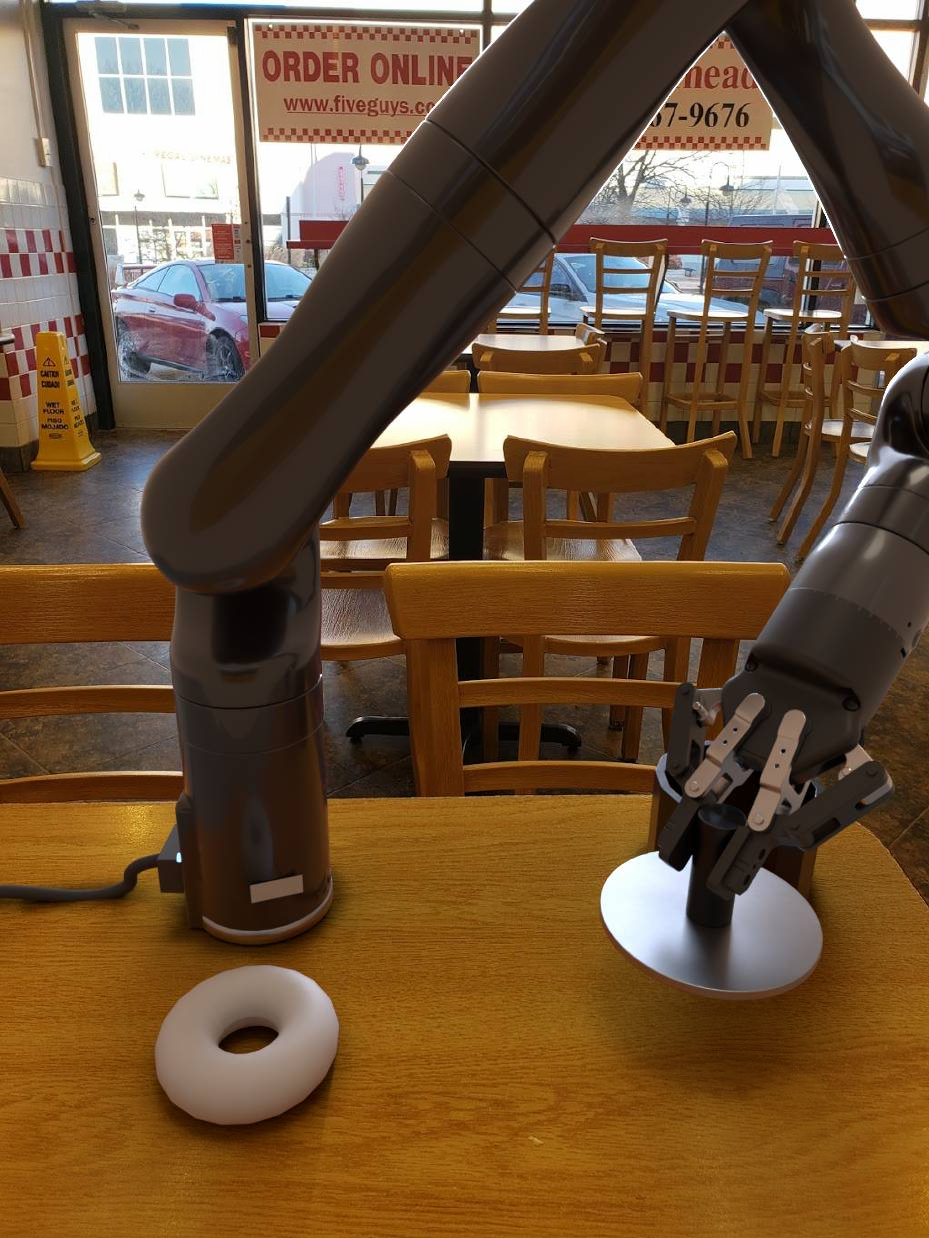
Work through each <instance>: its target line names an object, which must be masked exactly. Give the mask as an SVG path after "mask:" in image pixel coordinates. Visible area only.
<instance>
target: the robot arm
mask: <svg viewBox="0 0 929 1238" xmlns="http://www.w3.org/2000/svg"><path fill="white" fill-rule="evenodd" d="M723 32H724V33H725V34H726V36H727V37H728V39H729V41H731V44H732V46H733V47H734V48H735V50H736V51H737V53H738V56H739V57H740V58H741V60H742V61H743V63H744V65H745V66H746V68H747V70H748V72H749V73H750V75H751V76H752V78H753V80H754V82H755V83H756V85H757V86H758V88H759V90H760V91H761V93H762V95H763V97H764V98H765V100H766V101H767V103H768V105H769V107H770V108H771V110H772V112H773V114H774V115H775V118H776V119H777V121H778V123H779V125H780V126H781V128H782V130H783V131H784V133H785V135H786V137H787V140H788V141H789V143H790V145H791V146H792V148H793V150H794V152H795V155H796V156H797V158H798V160H799V162H800V164H801V166H802V168H803V170H804V172H805V174H806V175H807V178H808V181H809V182H810V184H811V187H812V188H813V191H814V193H815V195H816V197H817V199H818V201H819V203H820V205H821V208H822V210H823V213H824V214H825V216H826V219H827V221H828V223H829V225H830V229H831V230H832V232H833V235H834V237H835V239H836V241H837V244H838V246H839V248H840V250H841V253H842V255H843V258H844V260H845V263H846V264H847V266H848V269H849V271H850V273H851V276H852V278H853V280H854V282H855V285H856V288H857V289H858V291H859V294H860V295H861V298H862V301H863V303H864V305H865V307H866V309H867V311H868V313H869V315H870V317H871V318H872V320H873V323H874V324H875V325H876V326H877V328H879V329H880V330H881V331H882V332H883V333H886V334H887V335H890V336H894V337H899V338H908V339H916V340H923V341H927V342H929V105H928V104H927V103H926V101H925V100H924V99H923V97H921V96H920V94H919V93H918V92H917V91H916V89H914V87H913V86H912V84H911V83H910V82H909V81H908V80H907V78H906V77H905V76H904V74H902V73H901V71H900V70H899V69H898V68H897V66H896V65H895V64H894V63H893V61H892V60H891V59H890V58H889V56H888V54H887V53H886V52H885V51H884V49H883V47H882V46H881V45H880V44H879V42H878V40H877V39H876V37H875V36H874V34H873V33H872V31H871V29H870V28H869V26H868V25H867V23H866V21H865V20H864V18H863V16H862V15H861V12H860V11H859V9H858V7H857V5H856V3H855V0H531V1H530V2H529V3H528V4H527V5H526V6H525V7H524V8H523V9H522V10H521V11H520V12H519V13H518V14H517V15H516V16H515V18H513V19H512V20H511V21H510V22H509V23H508V24H507V25H506V27H505V28H504V29H503V30H502V31H501V32H500V33H499V34H498V35H497V36H496V38H494V39H493V40H492V42H491V43H489V45H488V46H487V47H485V49H484V50H483V51H482V52H481V53H480V54H479V55H478V56H477V58H476V59H475V60H474V61H473V62H472V63H471V64H470V66H469V67H468V68H467V69H466V70H465V71H464V72H463V74H461V75H460V77H459V78H458V79H457V80H456V81H455V82H454V84H453V85H452V86H450V89H448V91H446V93H445V94H444V95H443V96H442V98H441V99H440V100H439V101H438V102H437V103H436V104H435V106H433V108H432V109H431V110H430V111H429V113H427V115H426V116H425V120H422V122H421V123H420V124H419V126H418V127H417V128H416V129H415V131H414V132H413V133H412V134H411V136H410V137H409V138H408V140H407V141H406V142H405V144H404V145H403V146H402V148H401V149H400V150H399V151H398V153H397V154H396V155H395V156H394V158H393V159H392V160H391V162H389V164H388V166H387V167H386V169H385V170H384V171H383V172H382V174H381V175H380V176H379V178H378V179H377V180H376V181H375V183H374V184H373V186H372V187H371V189H370V191H369V192H368V193H367V195H366V196H365V198H364V199H363V200H362V202H361V203H360V205H359V207H358V208H357V209H356V211H355V212H354V214H353V215H352V216H351V218H350V219H349V221H348V223H347V224H346V225H345V226H344V228H343V230H342V232H341V233H340V234H339V236H338V238H337V239H336V241H335V242H334V244H333V245H332V247H331V248H330V249H329V252H328V253H327V255H326V256H325V258H324V260H323V261H322V262H321V265H320V266H319V268H318V269H317V270H316V273H315V274H314V276H313V277H312V280H311V281H310V283H309V284H308V286H307V288H306V289H305V291H304V292H303V294H302V296H301V298H300V300H298V301H299V302H298V303H297V304H296V307H295V308H294V310H293V312H292V313H291V315H290V316H289V318H288V319H287V321H286V322H285V323H284V326H283V327H282V329H281V330H280V331H279V333H278V334H277V336H276V337H275V338H274V339H273V342H271V344H269V346H268V347H267V349H266V350H265V351H264V352H263V353H262V355H261V356H260V357H259V358H258V360H257V361H255V363H254V364H253V365H252V367H251V368H250V369H249V370H248V371H247V372H245V374H244V375H243V376H242V377H241V378H240V379H239V381H238V382H236V384H235V385H234V386H233V387H232V388H231V389H230V390H229V391H228V392H227V393H226V394H225V395H224V397H222V399H221V400H220V401H219V402H218V403H217V404H216V405H215V406H214V407H213V408H212V409H211V410H210V411H209V412H208V413H207V414H206V415H205V416H204V417H202V419H201V421H199V422H198V423H197V424H196V425H195V426H194V427H193V428H192V429H191V430H190V431H189V432H187V433H185V435H183V436H182V437H181V438H180V439H179V440H177V442H175V443H174V444H173V445H172V446H171V447H169V448H168V449H167V450H166V451H165V452H164V453H163V455H161V456H160V457H159V459H158V460H157V461H156V463H155V464H154V465H153V467H152V469H151V471H150V472H149V473H148V476H147V479H146V481H145V485H144V487H143V490H142V496H141V502H140V507H139V511H140V512H139V520H140V522H139V523H140V530H141V537H142V540H143V545H144V546H145V549H146V552H147V554H148V556H149V558H150V560H151V561H152V563H153V565H154V566H155V567H156V569H157V570H158V572H159V573H160V574H161V575H162V576H163V577H164V578H165V579H166V580H168V581H169V582H170V583H171V584H173V585H174V587H175V596H174V597H175V598H174V599H175V601H174V615H173V623H172V629H171V635H170V640H169V641H170V643H169V650H168V651H169V665H170V674H171V685H172V693H173V694H172V695H173V701H174V710H175V719H176V720H175V721H176V728H177V729H176V730H177V738H178V739H177V740H178V746H179V755H180V756H179V757H180V764H181V773H182V775H181V776H182V785H183V789H182V791H181V793H180V795H179V797H178V799H177V801H176V803H175V806H174V807H175V808H174V811H175V812H174V814H175V822H176V823H175V824H174V825H173V827H172V829H171V831H170V833H169V835H168V836H167V839H166V840H165V842H164V844H163V846H162V848H161V850H160V852H158V853H154V854H153V853H152V854H150V855H145V856H142V857H139V858H137V859H135V860H133V861H131V863H129V864H128V865H126V866H127V867H125V869H124V871H123V880H121V881H120V882H118V883H115V884H113V885H110V886H105V887H101V888H95V889H66V888H65V889H64V888H55V887H54V888H53V887H45V886H43V887H42V886H34V885H33V886H32V885H16V884H0V899H4V900H6V899H7V900H24V901H25V900H27V901H38V902H49V903H68V902H82V901H83V902H84V901H96V900H97V901H98V900H107V899H108V900H110V899H116V898H120V897H123V896H125V895H127V894H129V893H131V892H132V891H133V890H134V889H136V887H137V884H138V879H139V878H138V875H140V874H141V873H142V872H145V871H148V870H153V869H156V868H157V874H158V881H159V882H158V884H159V891H160V893H161V894H184V900H185V909H186V918H187V926H188V927H189V928H190V929H203V930H205V931H206V932H207V933H208V934H210V935H212V936H213V937H215V938H217V939H220V940H222V941H225V942H228V943H232V944H237V945H249V946H251V945H267V944H273V943H277V942H281V941H285V940H288V939H291V938H294V937H296V936H299V935H300V934H303V933H304V932H306V931H308V930H310V929H311V928H313V927H314V926H315V925H316V924H318V922H320V921H321V920H322V919H323V918H324V917H325V915H326V914H327V912H328V911H329V910H330V907H331V905H332V902H333V898H334V885H333V876H332V865H331V852H330V851H331V850H330V849H331V848H330V846H331V845H330V827H329V825H330V824H329V805H328V783H327V764H326V763H327V762H326V743H325V742H326V739H325V738H326V737H325V721H324V701H323V675H322V629H323V628H322V625H323V594H322V593H323V592H322V566H321V565H322V564H321V533H320V529H321V528H320V522H321V520H322V518H323V517H324V515H325V513H326V512H327V511H328V509H329V507H331V504H332V503H333V501H334V500H335V498H336V497H337V496H338V494H339V493H340V491H341V490H342V488H343V487H344V486H345V484H346V483H347V481H348V480H349V478H350V477H351V476H352V474H353V473H354V471H355V470H356V469H357V467H358V466H359V464H360V463H361V461H362V460H363V459H364V457H365V456H366V455H367V453H368V452H369V451H370V450H371V448H372V447H373V445H374V444H375V443H376V442H377V441H378V439H379V438H380V437H381V436H382V435H383V433H384V432H385V431H386V430H387V429H388V427H390V425H391V424H392V423H393V422H394V421H395V420H396V419H397V418H398V417H399V416H400V415H401V414H402V412H404V411H405V410H406V409H407V408H408V407H409V406H410V405H411V404H412V403H413V402H414V401H415V400H416V399H417V398H418V397H419V396H421V394H422V393H423V392H425V391H426V390H427V388H429V387H430V386H432V384H433V383H434V382H435V381H436V380H437V379H438V378H439V377H440V376H442V374H443V373H444V372H445V371H446V370H447V369H448V368H450V366H451V365H452V364H453V363H454V362H455V361H456V360H457V359H458V358H459V357H460V356H461V354H463V352H464V351H466V350H467V349H468V347H469V346H470V345H471V344H472V343H473V342H474V341H475V340H476V339H477V338H478V337H479V336H480V335H481V334H482V332H483V331H484V330H485V329H486V328H487V327H488V326H489V325H490V323H492V322H493V321H494V319H495V318H496V317H497V316H498V315H499V314H500V313H501V312H502V311H503V310H504V309H505V308H506V307H507V306H508V304H509V303H510V302H511V301H512V300H513V299H514V298H515V297H516V296H517V293H519V292H520V291H521V290H522V289H523V287H525V285H526V283H527V282H528V281H529V280H530V279H531V278H532V277H533V276H534V274H535V273H536V272H537V271H538V270H539V268H540V267H541V266H542V265H543V264H544V262H546V260H547V259H548V258H549V257H550V255H551V254H552V253H553V252H554V251H555V248H556V247H558V246H559V245H560V243H561V242H562V241H563V240H564V238H565V237H566V236H567V235H568V233H570V231H571V229H572V228H574V227H573V226H574V225H575V224H576V223H577V222H578V220H579V219H580V217H581V216H582V215H583V214H584V212H585V211H586V210H587V208H588V207H590V205H591V203H592V202H593V201H594V200H595V199H596V197H598V194H599V193H601V191H602V190H603V188H604V187H605V185H606V184H607V183H608V181H609V180H610V179H611V178H612V176H613V175H614V173H615V172H616V171H617V170H618V168H619V167H620V166H621V164H622V163H623V162H624V161H625V159H626V158H627V156H628V155H629V154H630V152H631V151H632V149H634V147H635V145H636V144H637V142H639V139H640V138H641V137H642V135H643V134H644V133H645V131H646V130H647V128H648V127H649V125H650V124H651V123H652V121H653V120H654V119H655V117H656V115H658V113H659V111H660V110H661V108H662V107H663V106H664V104H665V103H666V101H667V100H668V98H669V96H671V94H672V93H673V92H674V90H675V89H676V88H677V86H678V85H679V84H680V82H681V81H682V80H683V79H684V77H685V76H686V74H687V73H688V72H689V71H690V69H691V68H692V67H693V66H694V65H695V64H696V62H697V61H698V60H699V59H700V58H701V57H702V55H703V54H704V53H705V52H706V51H707V50H708V49H709V48H710V46H712V45H713V43H714V42H715V41H716V40H717V39H718V38H719V37H720V36H721V34H722V33H723ZM860 477H861V478H860V481H859V483H858V484H857V486H856V487H855V488H854V489H853V491H852V492H851V494H850V496H849V497H848V499H847V500H846V502H845V503H844V506H843V507H842V509H841V511H839V513H838V516H837V517H836V519H835V520H834V522H833V523H832V525H831V527H830V528H829V530H828V531H827V533H826V534H825V536H824V537H823V538H822V539H821V541H820V542H819V543H818V544H817V545H816V547H815V548H813V550H812V551H811V553H810V554H809V555H808V556H807V558H806V560H805V561H804V562H803V564H802V566H801V567H800V569H799V571H798V572H797V574H796V575H795V577H794V578H793V580H792V582H791V583H790V585H789V587H788V588H787V590H786V591H785V592H784V595H783V596H782V598H781V599H780V601H779V603H778V604H777V606H776V608H775V609H774V611H773V612H772V614H771V616H770V617H769V618H768V621H767V622H766V624H765V625H764V627H763V629H762V630H761V632H760V634H759V635H758V637H757V638H756V640H755V642H754V644H753V645H752V647H751V648H750V651H749V653H748V656H747V659H746V662H745V664H744V666H743V668H742V669H741V670H740V671H739V672H738V673H737V674H735V675H734V676H731V678H729V679H728V680H726V682H725V683H724V684H723V685H722V687H718V688H700V689H699V688H697V687H696V686H695V685H694V684H693V683H692V682H690V681H684V682H681V683H680V684H679V685H678V686H677V687H676V689H675V693H674V701H673V709H672V716H671V723H670V730H669V738H668V745H667V751H666V753H667V759H666V770H667V771H668V772H669V773H670V774H671V775H672V777H673V778H674V779H675V780H676V781H677V783H678V784H679V785H680V786H681V788H682V791H683V795H682V799H681V801H680V802H679V804H678V806H677V807H676V809H675V810H674V812H673V814H672V815H671V817H670V819H669V821H668V822H667V824H666V825H665V827H664V828H663V830H662V832H661V833H660V835H659V839H658V844H657V845H659V846H660V847H661V848H660V850H659V854H658V856H659V858H660V859H661V860H662V861H663V862H664V863H665V864H667V865H668V866H669V867H671V868H673V869H674V870H676V871H678V872H680V871H682V870H683V869H684V868H685V866H686V864H687V863H688V861H689V860H690V858H691V856H692V854H693V846H694V839H695V831H696V823H697V815H698V810H699V809H700V808H701V807H702V806H704V805H706V804H711V803H721V804H722V803H723V801H724V800H725V799H726V798H727V796H728V795H729V794H730V793H731V791H732V790H733V789H734V788H735V787H736V786H740V785H742V784H743V783H744V782H745V781H746V780H747V778H748V777H749V776H750V775H751V773H752V772H753V771H754V770H756V771H761V772H763V773H762V775H761V778H760V790H759V793H758V795H757V797H756V800H755V802H754V805H753V807H752V809H751V812H750V814H749V816H748V824H747V826H746V828H744V827H742V826H740V825H739V826H738V828H737V830H736V831H735V833H734V835H733V836H732V838H731V840H730V841H729V843H728V845H727V846H726V848H725V850H724V852H723V853H722V855H721V857H720V858H719V860H718V862H717V863H716V865H715V867H714V868H713V870H712V872H711V873H710V875H709V877H708V879H707V882H706V886H707V888H709V889H710V890H711V891H712V892H713V893H714V894H716V895H717V896H719V897H721V898H722V899H724V900H726V901H728V900H730V899H731V898H732V897H733V895H734V893H736V894H737V895H739V896H740V895H742V894H743V893H744V892H746V891H747V890H748V888H749V887H750V885H751V883H752V882H753V880H754V878H755V877H756V874H757V873H758V871H759V870H760V868H761V866H762V865H763V863H764V861H765V859H766V858H767V856H768V854H769V853H770V851H771V850H772V849H773V848H775V847H776V846H779V845H787V846H794V847H798V848H799V849H801V850H802V851H805V852H809V851H813V850H814V849H816V848H817V847H818V848H819V847H821V846H822V845H823V844H825V843H826V842H828V841H830V840H831V839H832V838H834V837H835V836H836V835H838V834H840V833H841V832H842V831H844V830H846V829H847V828H848V827H850V826H852V825H853V824H854V823H856V822H857V821H858V820H860V819H862V818H863V817H864V816H866V815H867V814H869V813H871V812H872V811H874V810H875V809H876V808H878V807H879V806H881V805H882V804H884V803H885V802H886V801H888V800H890V799H891V798H892V797H893V796H894V794H895V792H896V786H895V784H894V782H893V780H892V777H891V776H890V774H889V772H888V770H887V769H886V768H885V766H884V765H883V764H882V763H881V762H879V761H877V760H874V759H873V758H872V757H871V756H870V754H868V753H867V751H866V750H865V746H866V729H867V726H868V724H869V722H870V721H871V720H872V718H873V717H874V716H875V715H876V713H877V711H878V710H879V708H880V706H881V704H882V702H883V701H884V699H885V698H886V695H887V694H888V692H889V691H890V688H891V687H892V686H893V684H894V682H895V680H896V678H897V677H898V675H899V673H900V672H901V670H902V668H903V667H904V665H905V663H906V661H907V660H908V658H909V656H910V654H911V652H913V650H914V649H916V648H917V646H918V645H919V643H920V641H921V640H922V637H923V633H924V630H925V629H926V627H927V625H928V624H929V350H928V351H925V352H922V353H921V354H919V355H917V356H916V357H914V358H913V359H912V360H910V361H909V362H908V363H907V364H905V365H904V367H902V368H901V369H900V370H899V371H898V372H897V374H896V375H895V376H894V377H893V378H892V379H891V380H890V382H889V384H888V386H887V387H886V389H885V391H884V393H883V396H882V399H881V401H880V405H879V409H878V412H877V416H876V420H875V424H874V428H873V432H872V436H871V440H870V442H869V446H868V450H867V453H866V458H865V462H864V467H863V471H862V474H861V476H860ZM720 712H721V714H722V715H721V716H722V726H723V727H722V728H723V729H722V730H721V731H720V733H719V734H718V735H717V736H716V737H715V739H714V740H712V741H713V743H712V744H711V745H710V746H709V748H708V749H707V751H706V754H705V756H706V757H705V760H704V761H703V754H704V746H705V741H706V738H707V737H706V736H707V728H708V727H712V726H713V725H714V724H715V721H716V717H717V715H718V713H720ZM733 757H734V758H733ZM843 765H844V766H843ZM841 766H843V767H842V768H841V769H840V770H839V772H838V775H837V779H838V781H836V782H834V783H833V784H831V785H830V786H829V787H827V788H825V789H826V790H825V791H823V792H822V793H820V794H819V795H818V796H816V797H815V798H813V799H812V800H810V801H809V802H807V803H806V804H804V805H803V806H802V807H800V806H801V804H802V801H803V799H804V796H805V794H806V791H807V789H808V786H809V784H810V781H811V779H813V778H815V777H818V778H819V777H820V776H822V775H824V774H826V773H828V772H830V771H833V770H834V769H836V768H839V767H841Z"/></svg>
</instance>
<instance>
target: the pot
mask: <svg viewBox="0 0 929 1238" xmlns="http://www.w3.org/2000/svg"><path fill="white" fill-rule="evenodd" d="M713 741H714V740H705V746H704V754H703V761H704V760H705V757H706V756H705V754H706V751H707V749H708V748H709V746H710V745H711V744H712V743H713ZM733 758H734V757H733ZM666 759H667V752H666V753H665V754H663V755H661V757H660V759H659V761H658V763H657V766H656V767H655V770H654V775H653V785H652V796H651V804H650V805H651V807H650V817H649V826H648V835H647V844H646V845H647V847H646V854H648V853H652V852H657V851H659V850H660V848H661V847H660V846H659V845H657V844H658V839H659V835H660V833H661V832H662V830H663V828H664V827H665V825H666V824H667V822H668V821H669V819H670V817H671V815H672V814H673V812H674V810H675V809H676V807H677V806H678V804H679V802H680V801H681V799H682V795H683V791H682V788H681V786H680V785H679V784H678V783H677V781H676V780H675V779H674V778H673V777H672V775H671V774H670V773H669V772H668V771H667V770H666ZM762 773H763V772H761V771H756V770H754V771H753V772H752V773H751V775H750V776H749V777H748V778H747V780H746V781H745V782H744V783H743V784H742V785H740V786H736V787H735V788H734V789H733V790H732V791H731V793H730V794H729V795H728V796H727V798H726V799H725V800H724V801H723V803H722V804H726V805H730V806H733V807H735V808H737V809H739V810H740V811H741V812H743V814H744V815H745V816H746V820H747V821H746V826H747V824H748V816H749V814H750V812H751V809H752V807H753V805H754V802H755V800H756V797H757V795H758V793H759V790H760V778H761V775H762ZM826 789H827V788H826V787H825V785H824V783H823V782H822V781H821V779H820V778H819V776H818V777H815V778H813V779H811V781H810V784H809V786H808V789H807V791H806V794H805V796H804V799H803V801H802V804H801V806H800V807H802V806H803V805H804V804H806V803H807V802H809V801H810V800H812V799H813V798H815V797H816V796H818V795H819V794H820V793H822V792H823V791H825V790H826ZM818 848H819V847H817V848H816V849H814V850H813V851H809V852H805V851H802V850H801V849H799V848H798V847H794V846H787V845H779V846H776V847H775V848H773V849H772V850H771V851H770V853H769V854H768V856H767V858H766V859H765V861H764V863H763V865H762V866H761V867H762V868H764V869H766V870H768V871H770V872H771V873H773V874H775V875H777V876H778V877H780V878H781V879H783V880H784V881H786V882H787V883H788V884H789V885H791V886H792V887H793V888H795V889H796V890H797V891H798V892H799V893H800V894H801V895H802V896H803V897H804V898H805V899H806V901H807V902H808V903H809V899H810V893H811V889H812V883H813V878H814V877H813V876H814V870H815V865H816V859H817V854H818V850H819V849H818Z"/></svg>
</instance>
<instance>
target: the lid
mask: <svg viewBox="0 0 929 1238" xmlns="http://www.w3.org/2000/svg"><path fill="white" fill-rule="evenodd" d="M746 821H747V820H746V816H745V815H744V814H743V812H741V811H740V810H739V809H737V808H735V807H733V806H730V805H726V804H721V803H711V804H706V805H704V806H702V807H701V808H700V809H699V810H698V815H697V823H696V831H695V839H694V846H693V854H692V856H691V858H690V860H689V861H688V863H687V864H686V866H685V868H684V869H683V870H682V871H680V872H678V871H676V870H674V869H673V868H671V867H669V866H668V865H667V864H665V863H664V862H663V861H662V860H661V859H660V858H659V856H658V854H659V851H657V852H652V853H648V854H647V853H645V854H642V855H638V856H636V857H634V858H631V859H628V861H625V862H624V863H623V864H621V865H620V866H618V867H617V868H616V869H615V870H613V872H611V874H610V875H609V876H608V877H607V879H606V880H605V882H604V884H603V886H602V889H601V892H600V895H599V904H598V910H599V920H600V923H601V926H602V929H603V931H604V933H605V935H606V937H607V939H608V940H609V942H610V943H611V945H612V946H613V948H614V949H615V950H616V951H617V952H618V953H619V954H620V955H621V956H622V958H623V959H625V960H626V961H627V962H628V963H629V964H631V966H632V967H634V968H636V969H637V970H638V971H640V972H641V973H643V974H645V975H646V976H648V977H650V978H651V979H653V980H655V981H657V982H658V983H661V984H664V985H666V986H668V987H670V988H673V989H675V990H678V991H681V992H683V993H687V994H691V995H695V996H698V997H702V998H708V999H713V1000H721V1001H722V1000H723V1001H755V1000H761V999H762V1000H763V999H767V998H772V997H776V996H778V995H781V994H784V993H787V992H789V991H791V990H793V989H795V988H796V987H798V986H800V985H802V984H803V983H804V982H805V981H806V980H807V979H809V978H810V976H812V974H813V973H814V971H816V968H817V966H818V964H819V962H820V959H821V955H822V950H823V945H824V934H823V929H822V926H821V925H822V924H821V922H820V920H819V918H818V915H817V913H816V912H815V910H814V908H813V907H812V905H811V904H810V903H809V901H808V902H807V901H806V899H805V898H804V897H803V896H802V895H801V894H800V893H799V892H798V891H797V890H796V889H795V888H793V887H792V886H791V885H789V884H788V883H787V882H786V881H784V880H783V879H781V878H780V877H778V876H777V875H775V874H773V873H771V872H770V871H768V870H766V869H764V868H762V867H761V868H760V870H759V871H758V873H757V874H756V877H755V878H754V880H753V882H752V883H751V885H750V887H749V888H748V890H747V891H746V892H744V893H743V894H742V895H740V896H739V895H737V894H736V893H734V895H733V897H732V898H731V899H730V900H728V901H726V900H724V899H722V898H721V897H719V896H717V895H716V894H714V893H713V892H712V891H711V890H710V889H709V888H707V886H706V882H707V879H708V877H709V875H710V873H711V872H712V870H713V868H714V867H715V865H716V863H717V862H718V860H719V858H720V857H721V855H722V853H723V852H724V850H725V848H726V846H727V845H728V843H729V841H730V840H731V838H732V836H733V835H734V833H735V831H736V830H737V828H738V826H739V825H740V826H742V827H744V828H746Z"/></svg>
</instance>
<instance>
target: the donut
mask: <svg viewBox="0 0 929 1238" xmlns="http://www.w3.org/2000/svg"><path fill="white" fill-rule="evenodd" d="M248 1027H266V1028H270V1029H272V1030H273V1031H275V1032H277V1033H278V1036H277V1037H276V1038H275V1039H274V1040H273V1041H272V1042H271V1043H270V1044H268V1045H266V1046H265V1047H263V1048H261V1049H259V1050H256V1051H255V1050H254V1051H252V1052H248V1053H232V1052H228V1051H225V1050H223V1049H222V1048H220V1046H219V1045H220V1043H221V1042H222V1041H223V1040H224V1039H225V1038H226V1037H227V1036H228V1035H231V1034H232V1033H234V1032H236V1031H238V1030H240V1029H244V1028H245V1029H246V1028H248ZM339 1030H340V1024H339V1020H338V1016H337V1014H336V1011H335V1008H334V1005H333V1001H332V999H331V998H330V997H329V996H328V995H327V993H326V992H325V991H324V990H323V989H322V988H321V986H319V985H318V984H317V982H316V981H315V980H314V979H312V978H310V977H308V976H306V975H304V974H303V973H301V972H299V971H297V970H295V969H290V968H285V967H281V966H275V965H271V964H264V965H262V964H261V965H260V964H259V965H245V966H240V967H236V968H233V969H232V968H231V969H228V970H225V971H222V972H220V973H217V974H215V975H213V976H211V977H209V978H207V979H205V980H203V981H201V982H199V983H198V984H196V985H195V986H194V987H192V989H190V990H189V991H187V993H185V994H184V995H182V996H181V997H180V998H179V999H178V1000H177V1002H176V1003H175V1004H174V1005H173V1007H172V1008H171V1009H170V1011H169V1012H168V1013H167V1015H166V1016H165V1018H164V1020H163V1022H162V1024H161V1026H160V1029H159V1032H158V1036H157V1039H156V1041H155V1045H154V1061H155V1063H154V1064H155V1069H156V1070H155V1071H156V1077H157V1080H158V1082H159V1085H161V1087H162V1089H163V1091H164V1092H165V1094H166V1095H167V1097H168V1098H169V1100H170V1102H171V1103H173V1104H174V1105H175V1106H176V1107H178V1108H180V1109H181V1110H183V1111H184V1112H186V1113H187V1114H189V1115H190V1116H191V1117H193V1118H194V1119H197V1120H201V1121H205V1122H209V1123H212V1124H216V1125H219V1126H225V1125H228V1126H229V1125H251V1124H254V1123H257V1122H261V1121H264V1120H268V1119H270V1118H274V1117H277V1116H280V1115H281V1114H283V1113H285V1112H286V1111H288V1110H290V1109H292V1108H293V1107H295V1106H297V1105H298V1104H300V1103H301V1102H303V1101H304V1100H306V1099H307V1098H308V1096H309V1095H310V1094H311V1093H312V1092H313V1091H314V1090H315V1089H316V1088H317V1087H318V1086H319V1085H320V1084H321V1083H322V1082H323V1080H324V1079H325V1078H326V1076H327V1074H328V1072H329V1070H330V1067H331V1066H332V1064H333V1061H334V1059H335V1058H336V1055H337V1051H338V1043H339V1042H338V1041H339V1032H340V1031H339Z"/></svg>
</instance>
